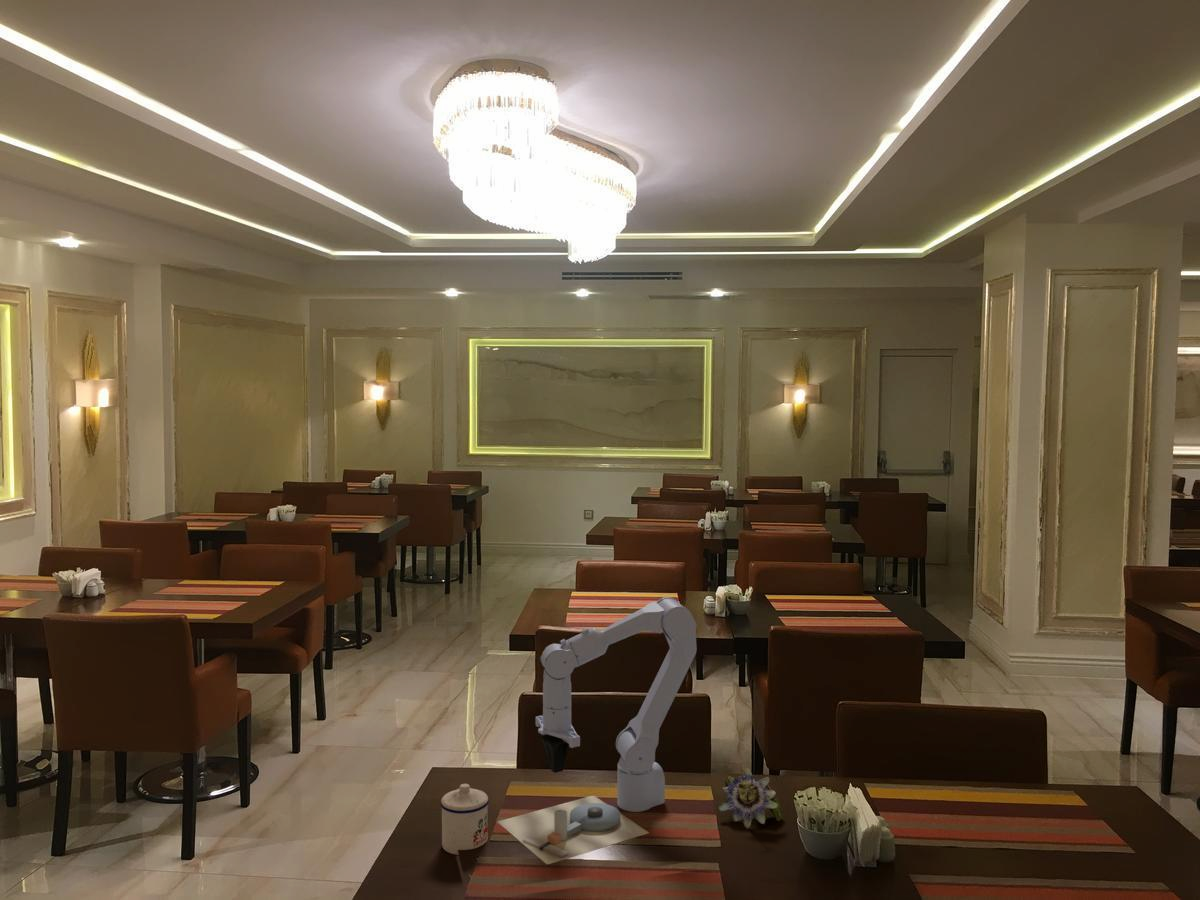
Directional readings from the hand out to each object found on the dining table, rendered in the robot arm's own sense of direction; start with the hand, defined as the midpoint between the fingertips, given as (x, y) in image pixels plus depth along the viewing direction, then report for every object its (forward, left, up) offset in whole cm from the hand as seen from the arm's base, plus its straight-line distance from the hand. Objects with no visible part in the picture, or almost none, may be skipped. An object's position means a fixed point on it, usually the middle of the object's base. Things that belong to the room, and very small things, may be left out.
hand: (557, 770), depth 193 cm
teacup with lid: (+20, 0, -10) cm, 22 cm away
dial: (0, +9, -8) cm, 12 cm away
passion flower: (-32, +22, -10) cm, 40 cm away
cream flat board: (+1, +8, -9) cm, 12 cm away
